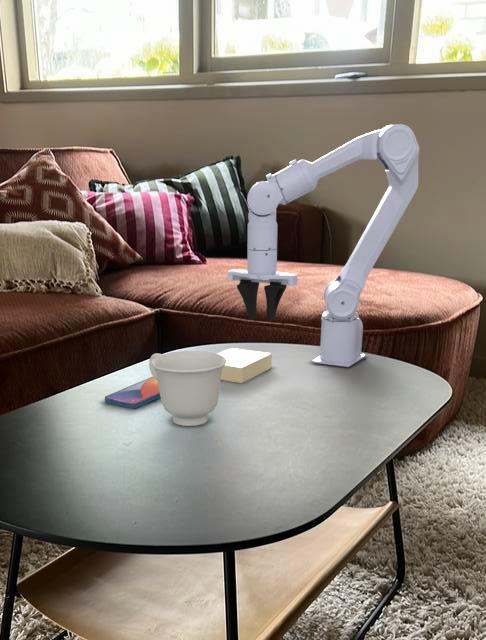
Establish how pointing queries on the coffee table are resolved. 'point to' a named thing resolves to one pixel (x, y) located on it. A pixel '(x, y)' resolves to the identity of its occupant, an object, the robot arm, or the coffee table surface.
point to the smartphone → (135, 394)
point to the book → (244, 364)
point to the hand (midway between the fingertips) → (261, 319)
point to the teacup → (188, 384)
